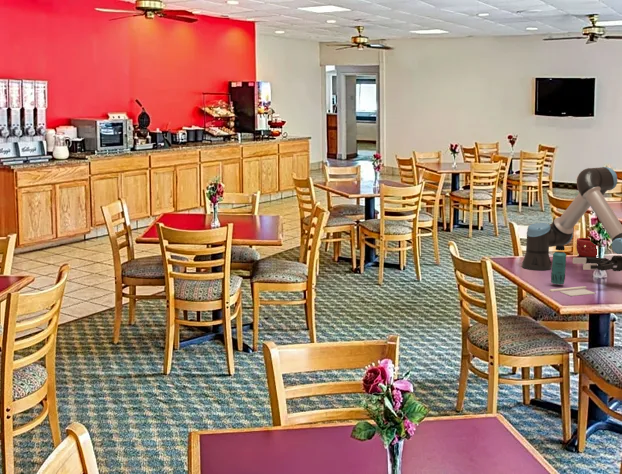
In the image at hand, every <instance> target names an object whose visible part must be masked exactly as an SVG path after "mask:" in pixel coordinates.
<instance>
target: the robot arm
mask: <svg viewBox="0 0 622 474" xmlns="http://www.w3.org/2000/svg"><path fill="white" fill-rule="evenodd" d="M617 184H618V174H617V172H616V171H615V170H614V169H613V168H611V167H610V166H609V167H606V166H602V167H590V168H589V167H588V168H585V169H582V170H581V171H580V173H578V175H577V178H576V187H577V190H578V192H579V193H578V194H577V195H576V197H575V198H574V199H573V200H572V201H571V203H570V204H569V206H568V207H567V208H566V209H565V211H564V212H563V213H562V214H561V216H560V217H556V218H555V219H553V221H552V222H551V224H550V223H548V222H535V223H531V224H529V225H528V227H527V230H526V244H525V245H526V247H525V255H524V257H523V259H522V263H521V267H522V268H523V269H527V270H531V271H532V270H533V271H549V270H551V269H552V261H551V257H550V254H549V253H550V247H551V248H552V247H556V245H563V246H565V245H568V244H569V243H571V241H572V240H573V237H574V231H575V230H574V227H575V226H576V225H577V223H578V222H579V221H580V220H581V219H582V217H583V216H584V215H585V214H586V212H587V211H588V210H589V209H590V208H591V209H592V211H593V213H594V214H595V216H596V217H597V218H598V219H597V220H598V221H599V222H600V224H601V226H603V228H604V229H605V231H606V233H607V235H608V236H609V237H610V239H611V241H612V242H611V248H612V251H613V252H614V253H615V254H617V255H613V256H611V258H610V259H609V258H606V257H599V258H595V257H585V258H577V257H572V264H575V265H577V264H579V265H580V264H582V270H584V271H586V270H587V271H588V270H592V271H593V270H598V271H601V272H602V271H608V270H609V271H610V270H612V271H613V272H622V223H621V220H619V219H618V217H617V215H616V214H615V212H614V211H613V209H612V208H611V206H610V204H609V203H608V201H607V200H606V198H605V197H604V196H605V194H606V193H607V192H608V191H612V190H614V189H615V188H616V187H617Z"/></svg>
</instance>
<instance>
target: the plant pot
mask: <svg viewBox="0 0 622 474" xmlns="http://www.w3.org/2000/svg"><path fill="white" fill-rule="evenodd" d="M590 238H591V237H578V238H576V251H577V255H576V258H585V257H595V258H596V255H597V249H596V245H594V244H593V243H592V242H591V241H590Z"/></svg>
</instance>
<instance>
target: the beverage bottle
mask: <svg viewBox="0 0 622 474" xmlns="http://www.w3.org/2000/svg"><path fill="white" fill-rule="evenodd" d="M555 250H557V251H554V252H553V253H552V261H551V269H550V270H551V271H550V272H551V273H550V282H551V284H555V285H564V284H565V280H566V267H567V265H566V264H567V254H566V253H565V252H564V251H565V245H556V246H555Z"/></svg>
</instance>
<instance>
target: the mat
mask: <svg viewBox="0 0 622 474" xmlns="http://www.w3.org/2000/svg"><path fill="white" fill-rule="evenodd" d="M559 293H561V294H563V295H566V296H568V297H576V296H588V295H596V294H597V293H596V292H594V291H591V290H590V289H589V290H588V289H587V288H586V289H575V290H565V291H559Z"/></svg>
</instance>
